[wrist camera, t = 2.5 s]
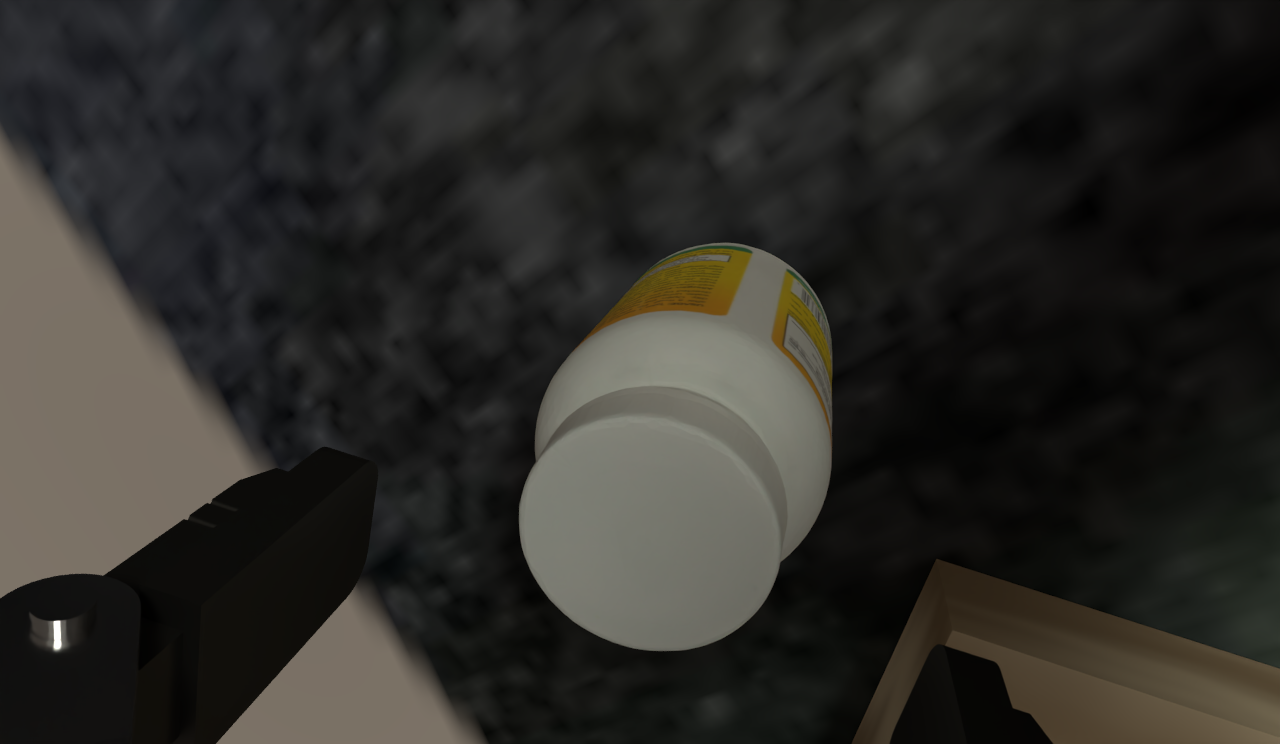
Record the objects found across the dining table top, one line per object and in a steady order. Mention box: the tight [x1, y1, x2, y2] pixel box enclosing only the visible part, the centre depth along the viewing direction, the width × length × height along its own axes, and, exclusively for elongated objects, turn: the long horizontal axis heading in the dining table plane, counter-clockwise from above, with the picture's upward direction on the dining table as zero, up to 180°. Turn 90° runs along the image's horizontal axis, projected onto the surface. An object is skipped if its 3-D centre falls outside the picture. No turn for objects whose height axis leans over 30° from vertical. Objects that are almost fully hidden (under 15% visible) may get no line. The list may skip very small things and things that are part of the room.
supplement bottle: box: [519, 243, 832, 651], centre depth 17 cm, size 5×5×10 cm
